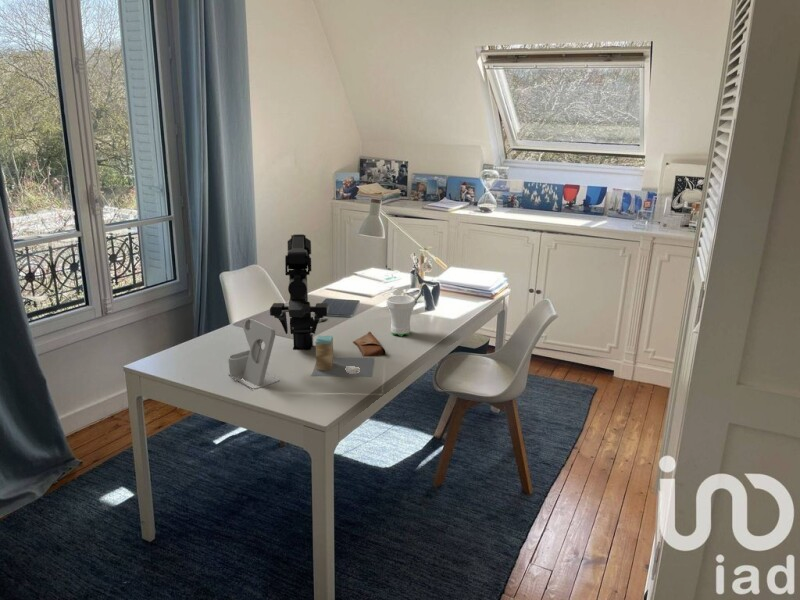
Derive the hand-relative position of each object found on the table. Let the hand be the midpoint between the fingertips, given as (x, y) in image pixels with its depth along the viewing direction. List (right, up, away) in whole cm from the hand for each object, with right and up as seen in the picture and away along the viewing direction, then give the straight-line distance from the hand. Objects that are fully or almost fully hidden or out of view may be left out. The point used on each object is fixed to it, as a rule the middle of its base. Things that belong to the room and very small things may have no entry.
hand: (300, 333), depth 203 cm
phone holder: (-15, -14, -5) cm, 21 cm away
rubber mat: (+14, -12, +3) cm, 19 cm away
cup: (+34, -2, +36) cm, 49 cm away
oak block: (+8, -11, +3) cm, 14 cm away
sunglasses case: (+22, -7, +21) cm, 31 cm away
